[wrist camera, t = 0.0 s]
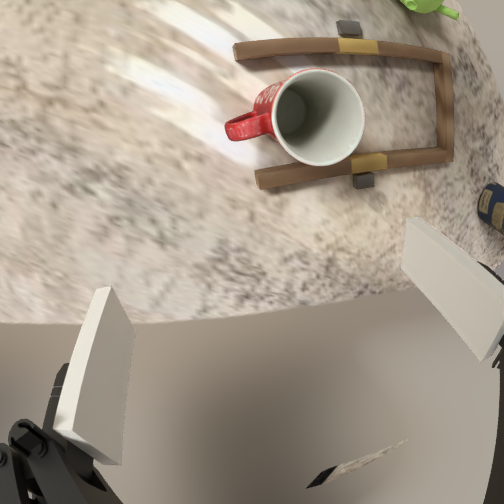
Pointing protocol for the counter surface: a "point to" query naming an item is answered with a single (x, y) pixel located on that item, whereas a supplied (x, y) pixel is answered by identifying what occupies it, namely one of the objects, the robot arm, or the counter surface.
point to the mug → (306, 117)
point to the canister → (493, 206)
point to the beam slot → (367, 160)
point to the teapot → (430, 7)
